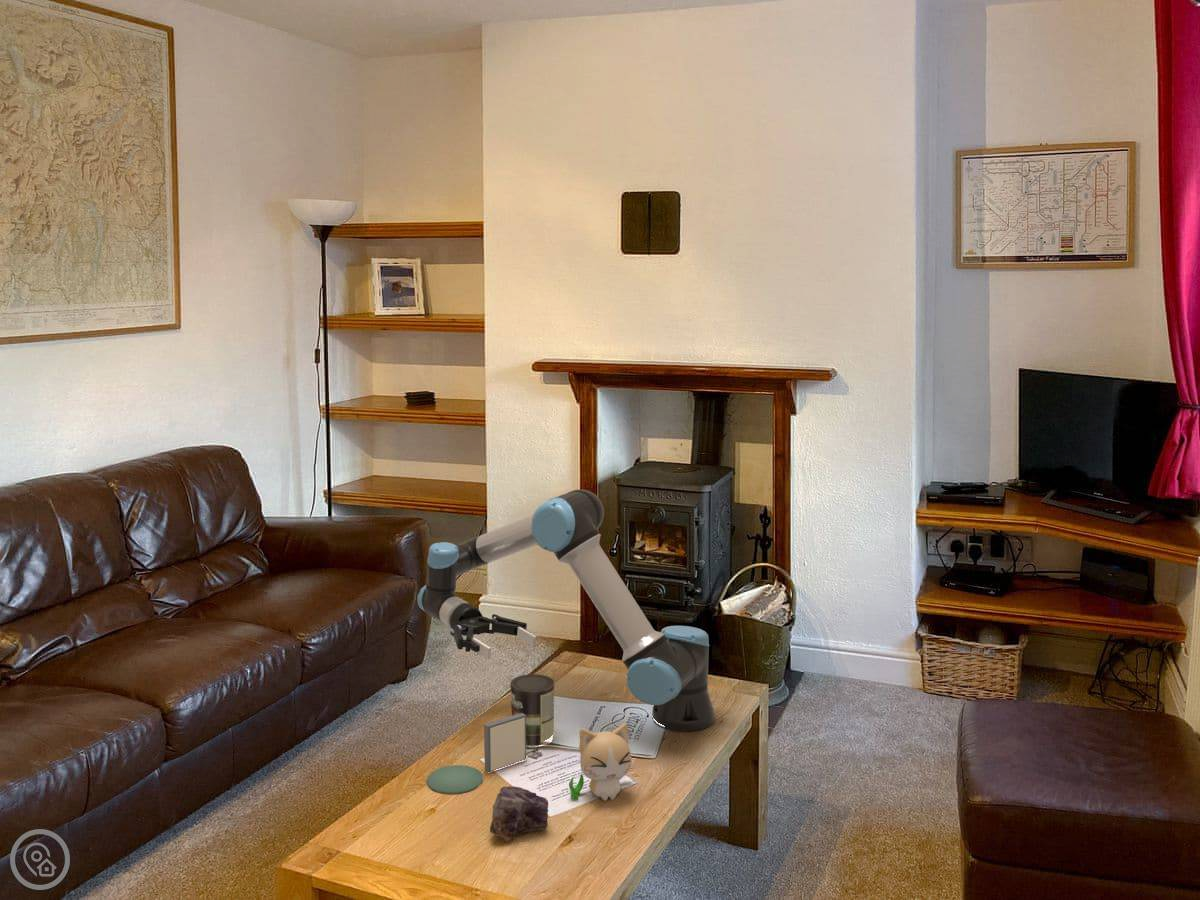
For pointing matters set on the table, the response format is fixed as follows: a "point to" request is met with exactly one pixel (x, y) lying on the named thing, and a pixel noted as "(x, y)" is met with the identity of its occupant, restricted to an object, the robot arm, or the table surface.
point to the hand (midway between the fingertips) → (512, 647)
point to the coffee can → (534, 706)
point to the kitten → (603, 761)
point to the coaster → (454, 779)
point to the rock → (518, 813)
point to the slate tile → (505, 742)
